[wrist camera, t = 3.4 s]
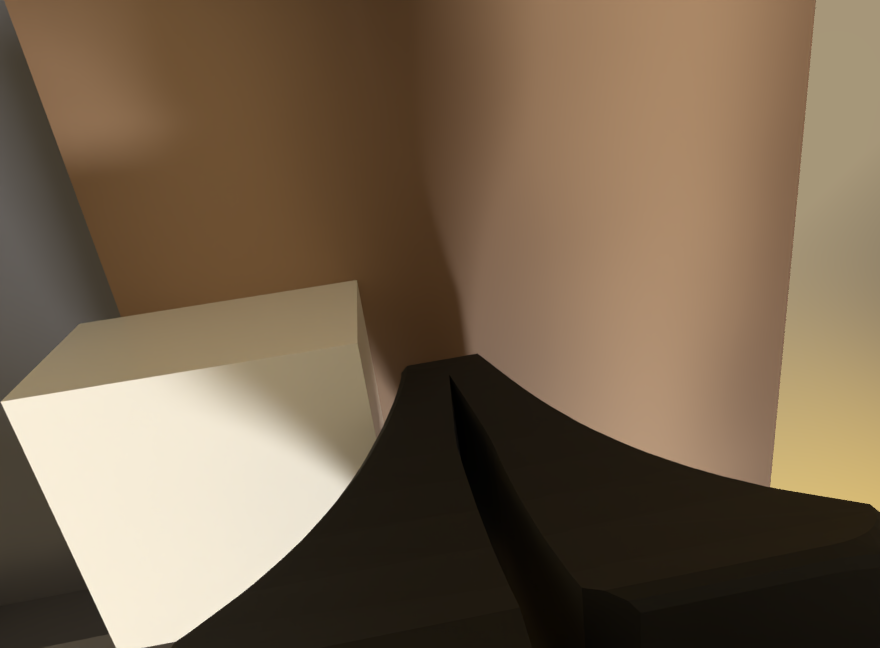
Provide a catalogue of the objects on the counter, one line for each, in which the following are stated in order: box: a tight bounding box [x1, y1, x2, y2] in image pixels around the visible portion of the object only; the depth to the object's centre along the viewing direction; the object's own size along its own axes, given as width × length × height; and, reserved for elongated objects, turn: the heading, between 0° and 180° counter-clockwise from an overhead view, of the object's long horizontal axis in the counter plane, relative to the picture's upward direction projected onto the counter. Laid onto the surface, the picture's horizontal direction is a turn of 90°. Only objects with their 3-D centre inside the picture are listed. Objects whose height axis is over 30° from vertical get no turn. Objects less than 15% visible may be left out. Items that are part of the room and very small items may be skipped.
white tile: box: [1, 280, 384, 648], centre depth 10 cm, size 4×4×2 cm
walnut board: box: [4, 0, 816, 487], centre depth 11 cm, size 12×20×3 cm, turn 8°
